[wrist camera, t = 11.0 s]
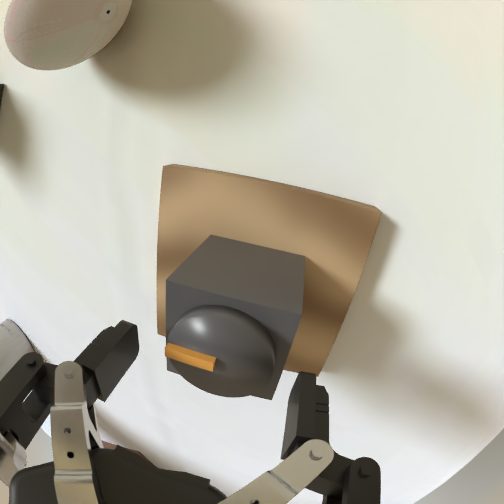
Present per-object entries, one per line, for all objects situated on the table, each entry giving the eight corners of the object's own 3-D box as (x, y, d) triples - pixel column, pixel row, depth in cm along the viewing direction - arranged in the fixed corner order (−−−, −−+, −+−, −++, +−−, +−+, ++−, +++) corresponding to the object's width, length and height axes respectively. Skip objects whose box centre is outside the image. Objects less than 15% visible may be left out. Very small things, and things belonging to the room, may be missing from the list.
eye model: (119, 87, 17) (15, 76, 8) (52, 66, 17) (-30, 62, 8) (179, -18, 13) (106, -79, 4) (99, -22, 13) (28, -51, 3)
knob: (305, 256, 18) (300, 334, 10) (283, 332, 20) (267, 419, 13) (210, 234, 18) (151, 294, 11) (202, 311, 21) (157, 386, 14)
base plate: (318, 364, 23) (318, 376, 21) (164, 324, 24) (157, 333, 23) (375, 207, 17) (381, 212, 16) (173, 164, 18) (163, 166, 17)
